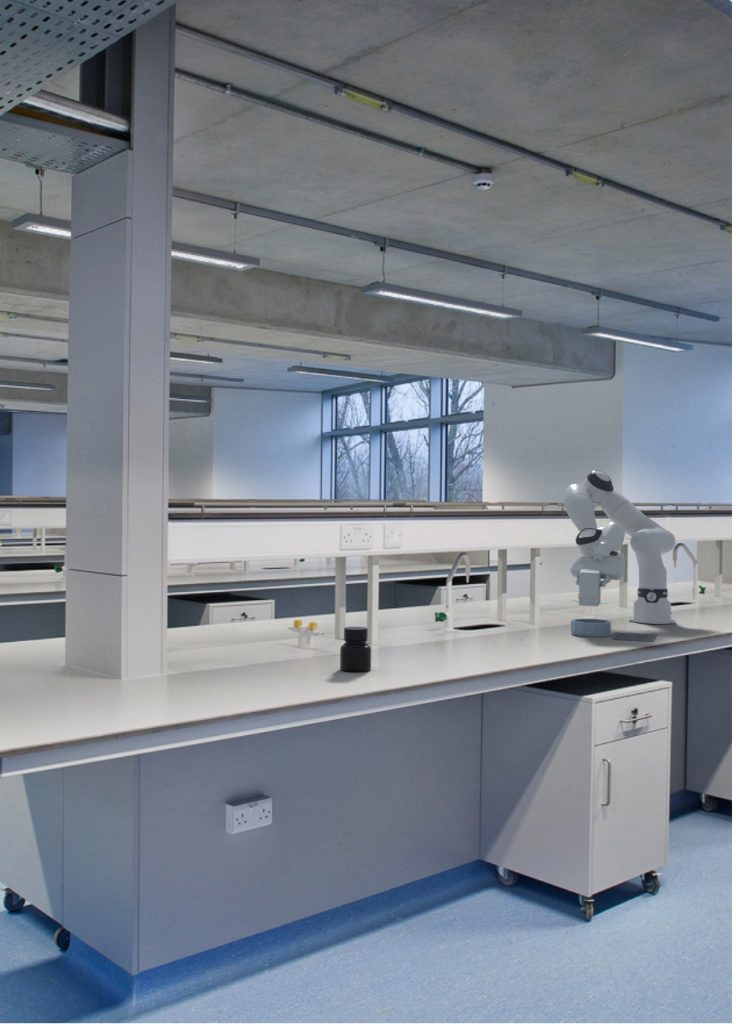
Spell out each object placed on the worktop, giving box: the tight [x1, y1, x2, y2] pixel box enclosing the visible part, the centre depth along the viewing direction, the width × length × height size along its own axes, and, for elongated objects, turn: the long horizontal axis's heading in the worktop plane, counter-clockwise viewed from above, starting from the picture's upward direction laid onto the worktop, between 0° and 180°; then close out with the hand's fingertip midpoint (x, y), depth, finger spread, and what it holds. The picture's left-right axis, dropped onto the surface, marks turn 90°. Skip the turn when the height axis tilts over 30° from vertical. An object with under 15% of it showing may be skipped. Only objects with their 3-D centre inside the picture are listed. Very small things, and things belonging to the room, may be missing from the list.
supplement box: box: [578, 569, 602, 607], centre depth 349 cm, size 7×7×13 cm
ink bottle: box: [339, 626, 372, 673], centre depth 267 cm, size 10×9×12 cm
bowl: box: [570, 618, 612, 638], centre depth 349 cm, size 14×14×5 cm
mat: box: [612, 631, 657, 643], centre depth 343 cm, size 20×14×1 cm
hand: (589, 585), depth 349 cm, fingers closed on supplement box, 8 cm apart
